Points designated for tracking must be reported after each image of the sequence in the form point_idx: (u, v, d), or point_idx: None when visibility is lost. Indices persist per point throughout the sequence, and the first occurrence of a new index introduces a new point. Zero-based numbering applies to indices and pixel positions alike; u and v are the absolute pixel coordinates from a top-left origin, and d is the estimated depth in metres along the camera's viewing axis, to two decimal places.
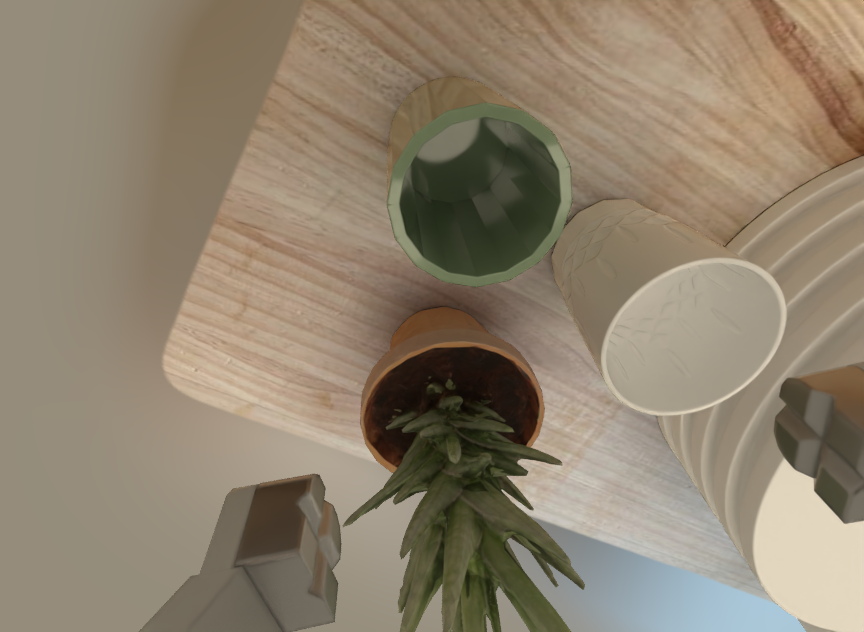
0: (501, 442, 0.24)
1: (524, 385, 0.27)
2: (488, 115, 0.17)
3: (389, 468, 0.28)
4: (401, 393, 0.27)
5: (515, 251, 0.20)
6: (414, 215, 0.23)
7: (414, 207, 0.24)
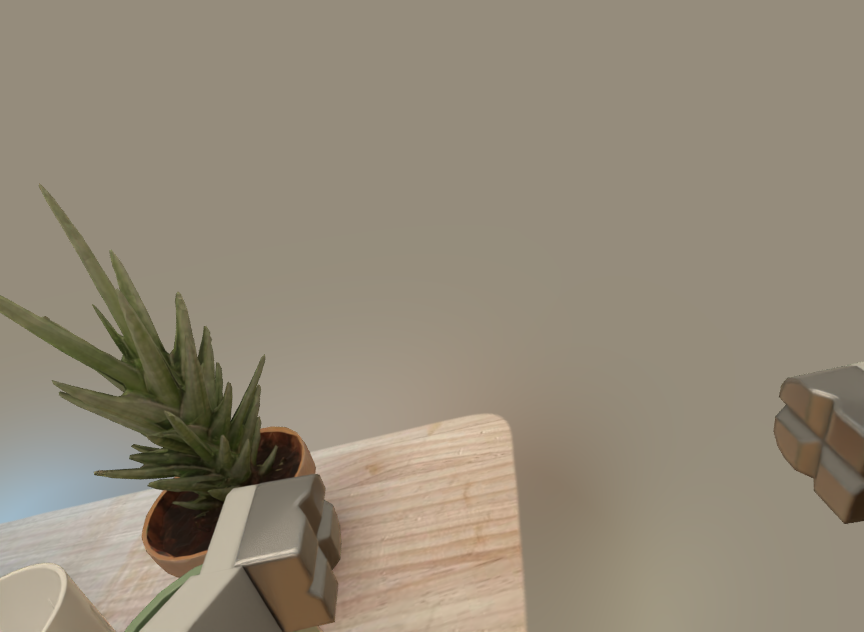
0: (163, 475, 0.26)
1: (166, 549, 0.27)
2: None
3: (274, 428, 0.33)
4: None
5: None
6: None
7: None
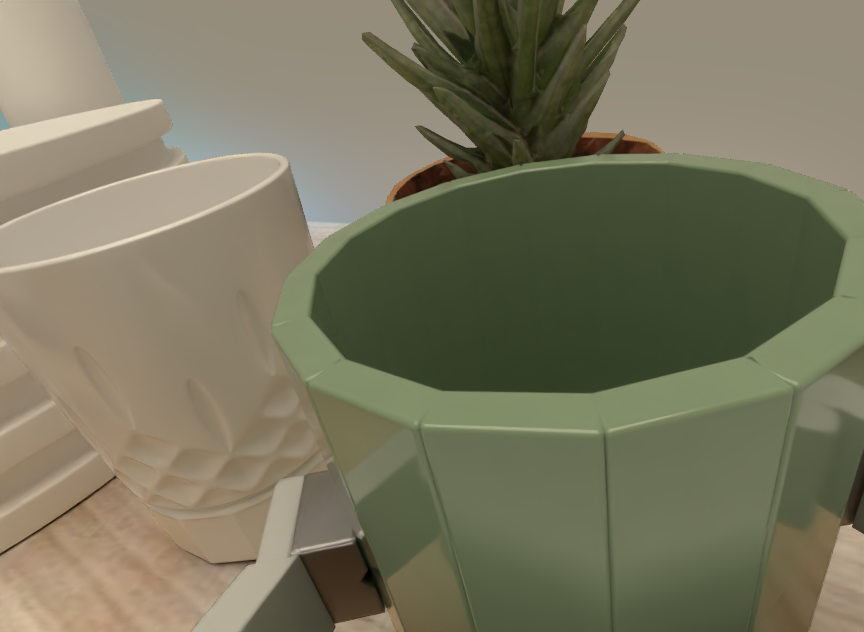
0: None
1: None
2: (579, 395, 0.04)
3: (600, 133, 0.20)
4: None
5: (435, 254, 0.09)
6: None
7: None
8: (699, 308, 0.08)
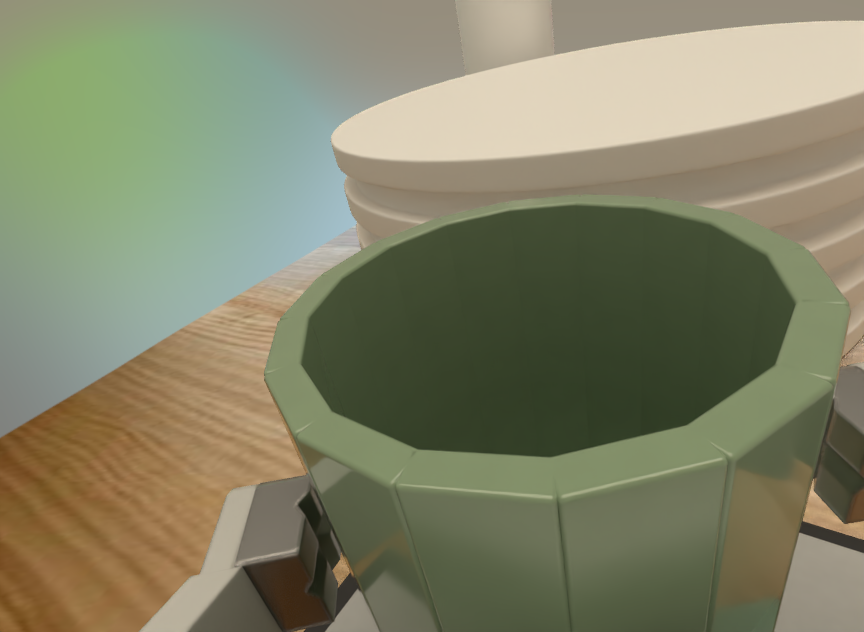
0: None
1: None
2: (538, 459, 0.04)
3: None
4: None
5: (425, 287, 0.09)
6: (654, 416, 0.10)
7: None
8: (675, 343, 0.09)
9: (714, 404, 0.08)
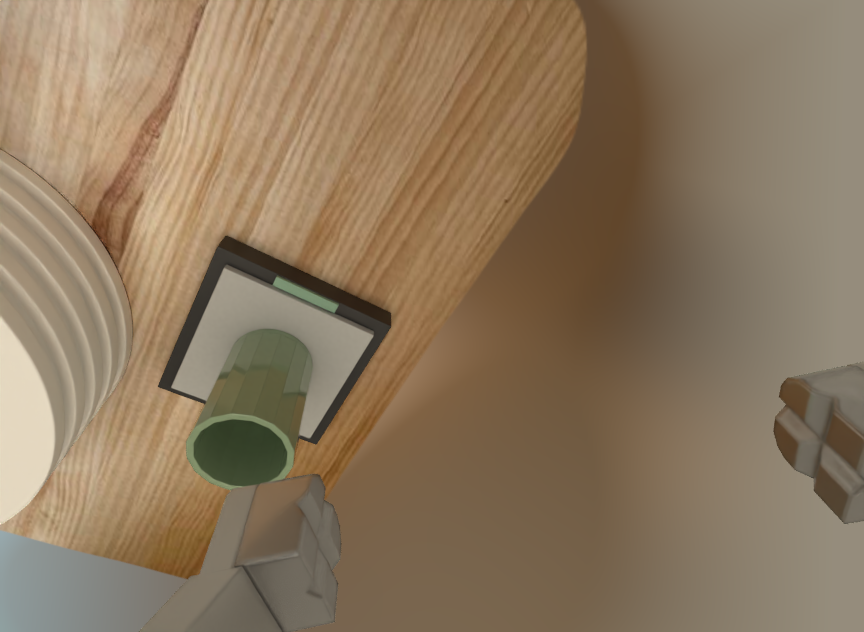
0: None
1: None
2: (288, 453, 0.33)
3: None
4: None
5: (213, 464, 0.34)
6: None
7: None
8: None
9: None
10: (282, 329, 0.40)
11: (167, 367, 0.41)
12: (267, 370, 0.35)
